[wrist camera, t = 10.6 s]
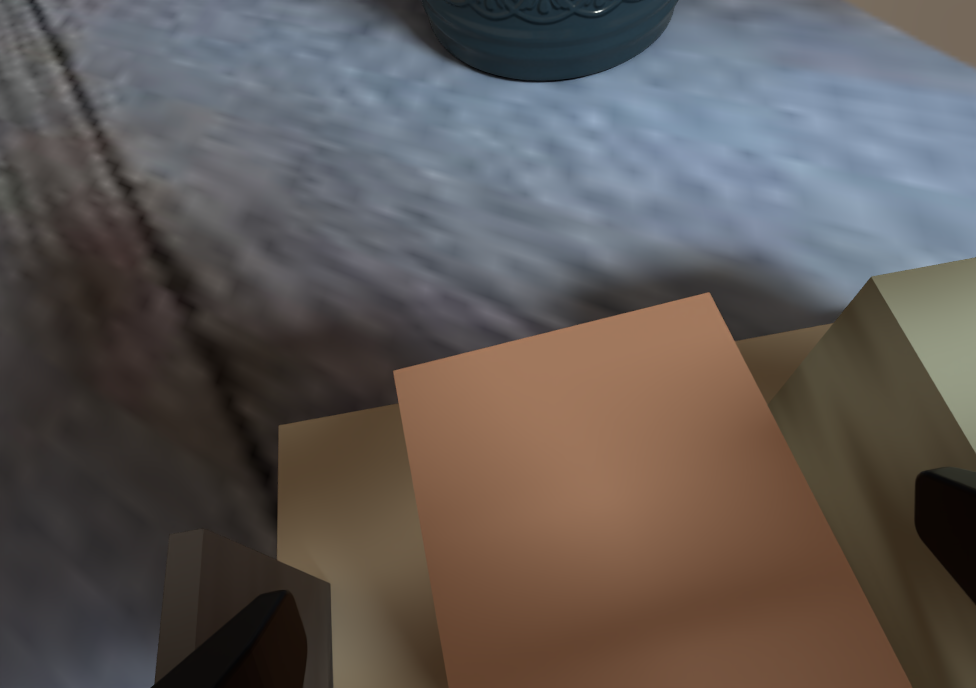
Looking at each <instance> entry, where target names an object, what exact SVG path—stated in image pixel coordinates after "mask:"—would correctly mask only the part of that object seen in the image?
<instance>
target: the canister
mask: <svg viewBox="0 0 976 688" xmlns="http://www.w3.org/2000/svg"><path fill="white" fill-rule="evenodd" d="M677 2H678V0H422V4H423V6H424V9H425V11H426V13H427V15H428V17H429V18H430V22H431V25H432V28H433V31H434V33H435V35H436V37H437V38H438V40H439V41H440V43H441V44H442V45H443V46H444V47H445V48H446V49H447V50H448V51H449V52H450V53H451V54H453V55H454V56H455V57H457V58H458V59H460V60H461V61H463V62H465V63H466V64H468V65H470V66H473V67H475V68H477V69H480V70H482V71H485V72H488V73H491V74H495V75H499V76H503V77H509V78H514V79H522V80H561V79H570V78H576V77H581V76H586V75H590V74H594V73H598V72H601V71H604V70H607V69H609V68H612V67H615V66H617V65H619V64H621V63H624V62H626V61H628V60H630V59H631V58H633V57H635V56H636V55H638V54H640V53H641V52H643V51H644V50H645V49H647V48H648V47H649V46H650V45H651V44H653V43H654V42H655V41H656V40H657V39H658V38H659V37H660V35H661V34H662V33H663V32H664V30H665V29H666V27H667V26H668V24H669V22H670V20H671V17H672V15H673V11H674V8H675V5H676V4H677Z"/></svg>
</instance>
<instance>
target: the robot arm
mask: <svg viewBox="0 0 976 688" xmlns="http://www.w3.org/2000/svg"><path fill="white" fill-rule="evenodd" d="M914 525H915V529H916V532H917V534H918V536H919V538H920V539H921V541H922V542H923V543H924V544H925V546H926V547H927V548H928V549H929V550H930V552H931V553H932V554H933V555H934V556H935V558H936V559H937V560H938V561H939V562H940V564H941V565H942V566H943V567H944V568H945V570H946V571H947V572H948V573H949V574H950V576H951V577H952V578H953V579H954V580H955V582H956V583H957V584H958V585H959V586H960V588H961V589H962V590H963V591H964V592H965V594H966V595H967V596H968V597H969V598H970V600H971V601H972V602H973V603H974V604H975V606H976V472H975V471H970V470H965V469H961V468H956V467H940V468H935V469H930V470H925V471H921V472H920V473H919V474H918V475H917V476H916V479H915V491H914ZM307 656H308V641H307V636H306V632H305V629H304V626H303V623H302V620H301V616H300V613H299V610H298V607H297V603H296V600H295V597H294V595H293V594H292V592H291V591H289V590H287V589H284V590H278V591H273V592H267V593H263V594H260V595H259V596H257V597H256V598H255V599H254V600H253V601H251V602H250V603H249V604H248V605H247V606H246V607H244V608H243V609H242V610H241V611H240V612H239V613H237V614H236V615H235V616H234V617H233V618H232V619H230V620H229V621H228V622H227V623H226V624H225V625H223V626H222V627H221V628H220V629H219V630H218V631H216V632H215V633H214V634H213V635H212V636H210V637H209V638H208V639H207V640H206V641H205V642H203V643H202V644H201V645H200V646H199V647H198V648H196V649H195V650H194V651H193V652H192V653H191V654H189V655H188V656H187V657H186V658H185V659H184V660H182V661H181V662H180V663H179V664H178V665H177V666H175V667H174V668H173V669H172V670H171V671H170V672H168V673H167V674H166V675H165V676H164V677H163V678H161V679H160V680H159V681H158V682H157V683H156V684H154V685H153V686H152V687H151V688H303V685H304V678H305V671H306V663H307Z"/></svg>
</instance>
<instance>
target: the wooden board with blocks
mask: <svg viewBox="0 0 976 688" xmlns="http://www.w3.org/2000/svg"><path fill="white" fill-rule="evenodd" d="M735 343H736V345H737V347H738V349H739V351H740V353H741V355H742V357H743V359H744V361H745V363H746V364H747V366H748V368H749V370H750V372H751V374H752V376H753V378H754V380H755V382H756V384H757V386H758V388H759V390H760V392H761V394H762V396H763V398H764V399H765V401H766V403H767V405H768V407H769V409H770V411H771V413H772V415H773V417H774V419H775V421H776V423H777V425H778V427H779V429H780V431H781V433H782V435H783V436H784V438H785V440H786V442H787V444H788V446H789V448H790V450H791V452H792V454H793V456H794V458H795V460H796V462H797V464H798V466H799V468H800V470H801V471H802V473H803V475H804V477H805V479H806V481H807V483H808V485H809V487H810V489H811V491H812V493H813V495H814V497H815V499H816V501H817V503H818V505H819V507H820V508H821V510H822V512H823V514H824V516H825V518H826V520H827V522H828V524H829V526H830V528H831V530H832V532H833V534H834V536H835V538H836V540H837V542H838V543H839V545H840V547H841V549H842V551H843V553H844V555H845V557H846V559H847V561H848V563H849V565H850V567H851V569H852V571H853V573H854V575H855V577H856V579H857V580H858V582H859V584H860V586H861V588H862V590H863V592H864V594H865V596H866V598H867V600H868V602H869V604H870V606H871V608H872V610H873V612H874V614H875V615H876V617H877V619H878V621H879V623H880V625H881V627H882V629H883V631H884V633H885V635H886V637H887V639H888V641H889V643H890V645H891V647H892V649H893V650H894V652H895V654H896V656H897V658H898V660H899V662H900V664H901V666H902V668H903V670H904V672H905V674H906V676H907V678H908V680H909V682H910V684H911V686H912V687H913V688H976V606H975V604H974V603H973V602H972V601H971V600H970V598H969V597H968V596H967V595H966V594H965V592H964V591H963V590H962V589H961V588H960V586H959V585H958V584H957V583H956V582H955V580H954V579H953V578H952V577H951V576H950V574H949V573H948V572H947V571H946V570H945V568H944V567H943V566H942V565H941V564H940V562H939V561H938V560H937V559H936V558H935V556H934V555H933V554H932V553H931V552H930V550H929V549H928V548H927V547H926V546H925V544H924V543H923V542H922V541H921V539H920V538H919V536H918V534H917V532H916V529H915V525H914V491H915V479H916V476H917V475H918V474H919V473H920V472H921V471H925V470H930V469H935V468H940V467H956V468H961V469H965V470H970V471H975V472H976V257H975V258H970V259H965V260H959V261H954V262H948V263H943V264H938V265H932V266H927V267H921V268H916V269H910V270H905V271H900V272H894V273H889V274H883V275H878V276H872V277H871V278H870V279H869V280H868V281H867V282H866V284H865V285H864V286H863V287H862V289H861V290H860V291H859V292H858V294H857V295H856V296H855V297H854V299H853V300H852V301H851V302H850V303H849V305H848V306H847V307H846V308H845V310H844V311H843V312H842V313H841V315H840V316H839V317H838V318H837V320H836V321H835V322H834V323H831V324H826V325H820V326H815V327H809V328H804V329H798V330H793V331H788V332H782V333H777V334H771V335H766V336H761V337H755V338H750V339H744V340H739V341H735ZM284 589H287V590H289V591H291V592H292V594H293V595H294V597H295V600H296V603H297V607H298V610H299V613H300V616H301V620H302V623H303V626H304V629H305V632H306V636H307V641H308V656H307V663H306V671H305V678H304V685H303V688H449V686H448V681H447V675H446V669H445V663H444V658H443V652H442V646H441V641H440V635H439V629H438V624H437V618H436V612H435V607H434V601H433V595H432V589H431V584H430V578H429V572H428V567H427V561H426V555H425V550H424V544H423V538H422V533H421V527H420V521H419V515H418V510H417V504H416V498H415V493H414V487H413V481H412V476H411V470H410V464H409V459H408V453H407V447H406V441H405V436H404V430H403V424H402V419H401V413H400V407H399V403H398V404H392V405H387V406H382V407H376V408H371V409H365V410H360V411H355V412H349V413H344V414H338V415H333V416H328V417H322V418H317V419H311V420H306V421H300V422H295V423H290V424H284V425H279V444H278V525H277V560H276V559H273V558H271V557H269V556H266V555H264V554H262V553H259V552H257V551H255V550H253V549H250V548H248V547H246V546H243V545H241V544H239V543H237V542H234V541H232V540H230V539H227V538H225V537H223V536H221V535H218V534H216V533H214V532H211V531H209V530H207V529H204V528H201V529H196V530H191V531H185V532H180V533H174V534H169V543H168V553H167V563H166V573H165V583H164V593H163V603H162V613H161V623H160V633H159V643H158V653H157V663H156V673H155V683H154V684H156V683H157V682H158V681H159V680H160V679H161V678H163V677H164V676H165V675H166V674H167V673H168V672H170V671H171V670H172V669H173V668H174V667H175V666H177V665H178V664H179V663H180V662H181V661H182V660H184V659H185V658H186V657H187V656H188V655H189V654H191V653H192V652H193V651H194V650H195V649H196V648H198V647H199V646H200V645H201V644H202V643H203V642H205V641H206V640H207V639H208V638H209V637H210V636H212V635H213V634H214V633H215V632H216V631H218V630H219V629H220V628H221V627H222V626H223V625H225V624H226V623H227V622H228V621H229V620H230V619H232V618H233V617H234V616H235V615H236V614H237V613H239V612H240V611H241V610H242V609H243V608H244V607H246V606H247V605H248V604H249V603H250V602H251V601H253V600H254V599H255V598H256V597H257V596H259V595H260V594H263V593H267V592H273V591H278V590H284Z"/></svg>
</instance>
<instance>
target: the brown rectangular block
mask: <svg viewBox="0 0 976 688" xmlns="http://www.w3.org/2000/svg"><path fill="white" fill-rule="evenodd" d="M393 373H394V379H395V385H396V390H397V396H398V402H399V407H400V413H401V419H402V424H403V430H404V436H405V441H406V447H407V453H408V459H409V464H410V470H411V476H412V481H413V487H414V493H415V498H416V504H417V510H418V515H419V521H420V527H421V533H422V538H423V544H424V550H425V555H426V561H427V567H428V572H429V578H430V584H431V589H432V595H433V601H434V607H435V612H436V618H437V624H438V629H439V635H440V641H441V646H442V652H443V658H444V663H445V669H446V675H447V681H448V686H449V688H913V687H912V686H911V684H910V682H909V680H908V678H907V676H906V674H905V672H904V670H903V668H902V666H901V664H900V662H899V660H898V658H897V656H896V654H895V652H894V650H893V649H892V647H891V645H890V643H889V641H888V639H887V637H886V635H885V633H884V631H883V629H882V627H881V625H880V623H879V621H878V619H877V617H876V615H875V614H874V612H873V610H872V608H871V606H870V604H869V602H868V600H867V598H866V596H865V594H864V592H863V590H862V588H861V586H860V584H859V582H858V580H857V579H856V577H855V575H854V573H853V571H852V569H851V567H850V565H849V563H848V561H847V559H846V557H845V555H844V553H843V551H842V549H841V547H840V545H839V543H838V542H837V540H836V538H835V536H834V534H833V532H832V530H831V528H830V526H829V524H828V522H827V520H826V518H825V516H824V514H823V512H822V510H821V508H820V507H819V505H818V503H817V501H816V499H815V497H814V495H813V493H812V491H811V489H810V487H809V485H808V483H807V481H806V479H805V477H804V475H803V473H802V471H801V470H800V468H799V466H798V464H797V462H796V460H795V458H794V456H793V454H792V452H791V450H790V448H789V446H788V444H787V442H786V440H785V438H784V436H783V435H782V433H781V431H780V429H779V427H778V425H777V423H776V421H775V419H774V417H773V415H772V413H771V411H770V409H769V407H768V405H767V403H766V401H765V399H764V398H763V396H762V394H761V392H760V390H759V388H758V386H757V384H756V382H755V380H754V378H753V376H752V374H751V372H750V370H749V368H748V366H747V364H746V363H745V361H744V359H743V357H742V355H741V353H740V351H739V349H738V347H737V345H736V343H735V341H734V339H733V337H732V335H731V333H730V331H729V329H728V327H727V326H726V324H725V322H724V320H723V318H722V316H721V314H720V312H719V310H718V308H717V306H716V304H715V302H714V300H713V298H712V296H711V294H710V292H708V293H704V294H700V295H696V296H692V297H688V298H684V299H680V300H676V301H672V302H668V303H664V304H660V305H656V306H652V307H648V308H644V309H640V310H636V311H632V312H628V313H624V314H620V315H616V316H612V317H607V318H603V319H599V320H595V321H591V322H587V323H583V324H579V325H575V326H571V327H567V328H563V329H559V330H555V331H551V332H547V333H543V334H539V335H535V336H531V337H527V338H523V339H519V340H515V341H511V342H507V343H503V344H499V345H495V346H491V347H487V348H483V349H479V350H475V351H471V352H467V353H463V354H459V355H455V356H451V357H447V358H443V359H439V360H435V361H431V362H427V363H423V364H419V365H415V366H411V367H407V368H403V369H399V370H395V371H393Z"/></svg>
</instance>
